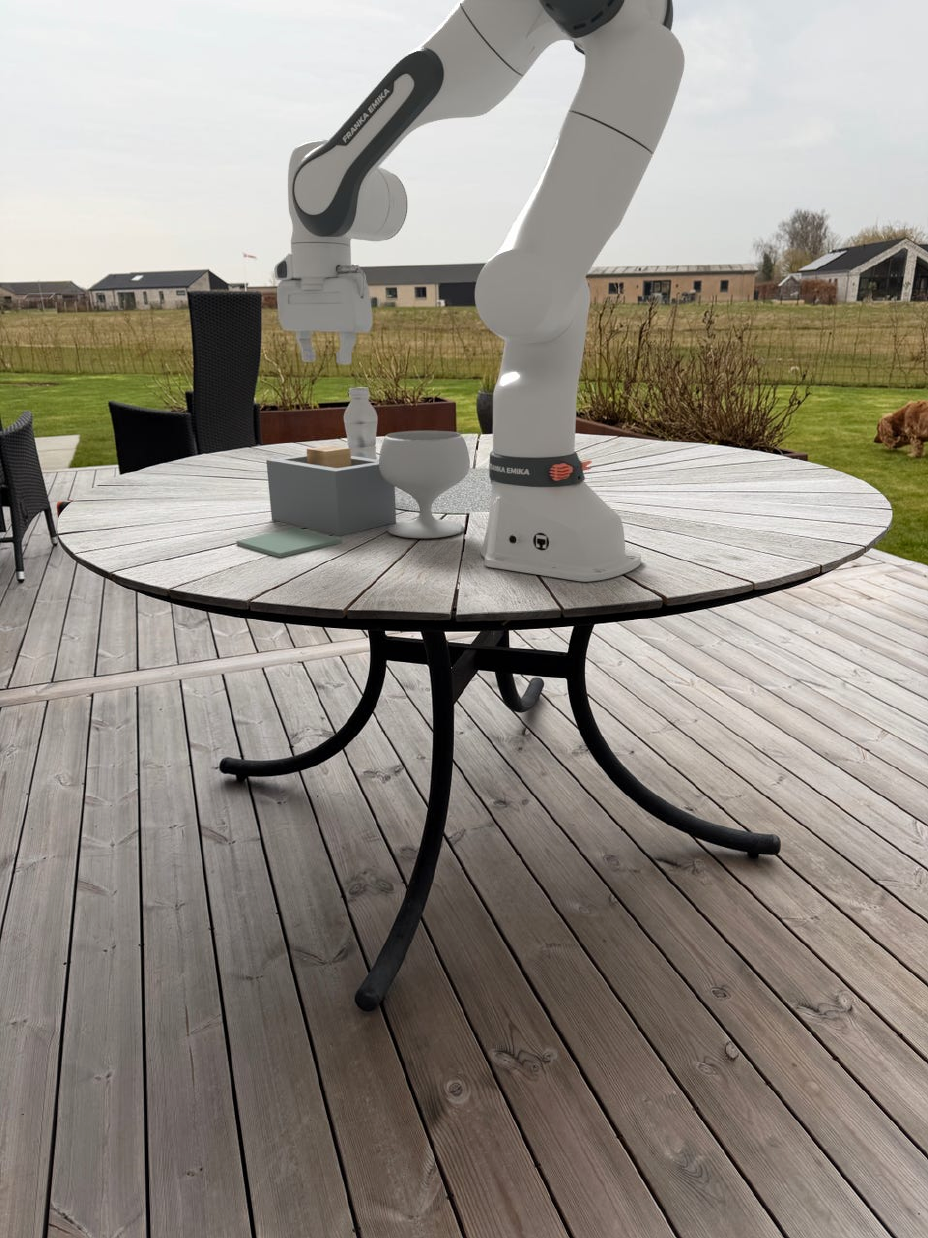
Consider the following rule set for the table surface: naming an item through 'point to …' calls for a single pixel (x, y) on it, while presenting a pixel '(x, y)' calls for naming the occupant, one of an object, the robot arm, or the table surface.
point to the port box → (330, 495)
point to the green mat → (288, 542)
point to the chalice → (424, 475)
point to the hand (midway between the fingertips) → (326, 362)
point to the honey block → (329, 456)
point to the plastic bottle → (361, 424)
